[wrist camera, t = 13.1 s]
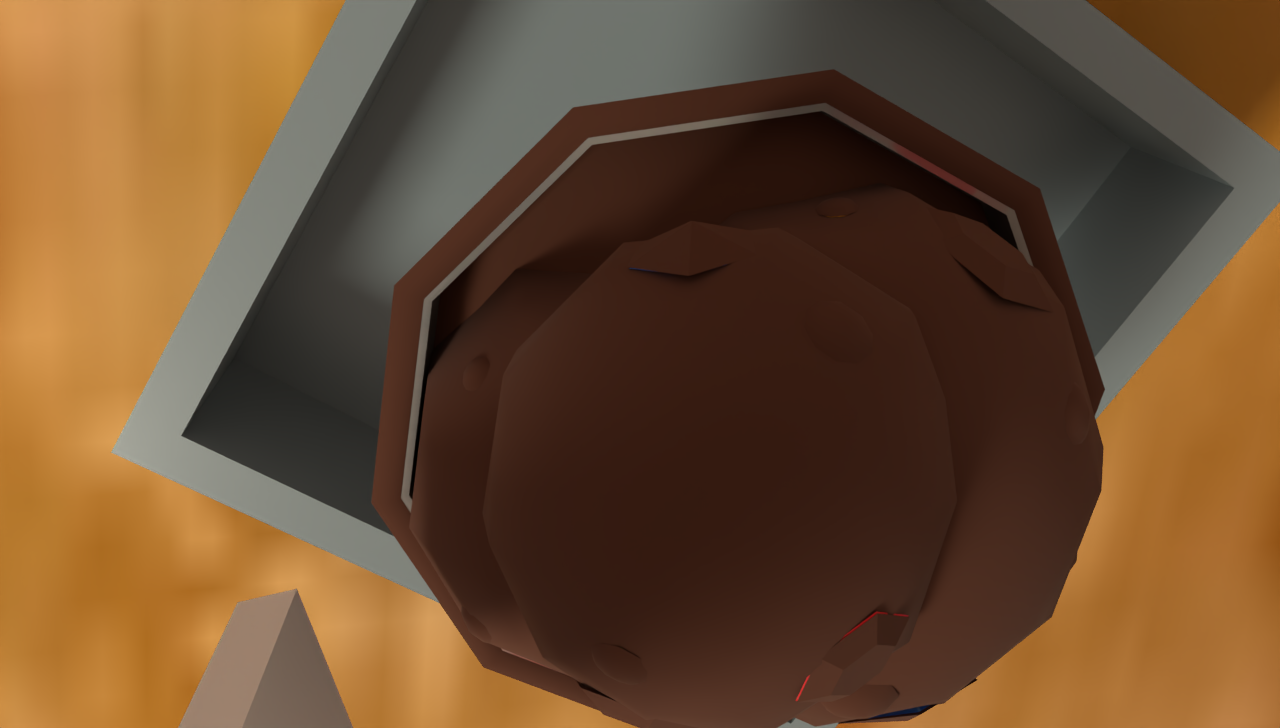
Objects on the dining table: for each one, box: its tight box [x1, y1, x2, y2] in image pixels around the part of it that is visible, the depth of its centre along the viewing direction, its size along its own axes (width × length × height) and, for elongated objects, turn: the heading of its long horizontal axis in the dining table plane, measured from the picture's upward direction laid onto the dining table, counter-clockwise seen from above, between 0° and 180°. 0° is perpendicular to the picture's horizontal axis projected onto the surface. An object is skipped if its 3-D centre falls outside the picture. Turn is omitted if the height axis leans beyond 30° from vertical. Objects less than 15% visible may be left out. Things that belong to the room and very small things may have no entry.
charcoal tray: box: [111, 0, 1280, 728], centre depth 23 cm, size 17×17×5 cm
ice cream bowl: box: [371, 69, 1105, 728], centre depth 18 cm, size 11×11×15 cm
